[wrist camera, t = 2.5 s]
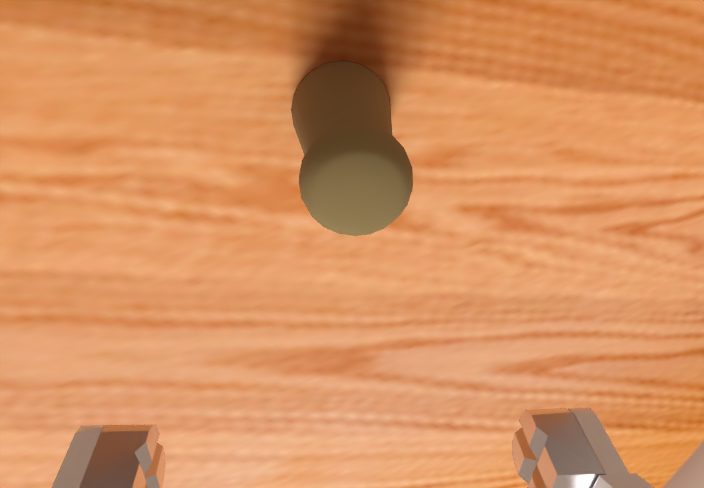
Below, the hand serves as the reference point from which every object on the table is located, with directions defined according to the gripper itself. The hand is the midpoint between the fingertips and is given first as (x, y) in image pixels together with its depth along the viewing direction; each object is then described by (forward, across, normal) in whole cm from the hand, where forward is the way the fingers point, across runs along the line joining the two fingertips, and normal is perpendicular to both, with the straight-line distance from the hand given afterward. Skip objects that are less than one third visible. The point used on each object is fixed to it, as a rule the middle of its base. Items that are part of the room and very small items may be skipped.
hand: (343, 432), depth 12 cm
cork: (+23, -1, +1) cm, 23 cm away
